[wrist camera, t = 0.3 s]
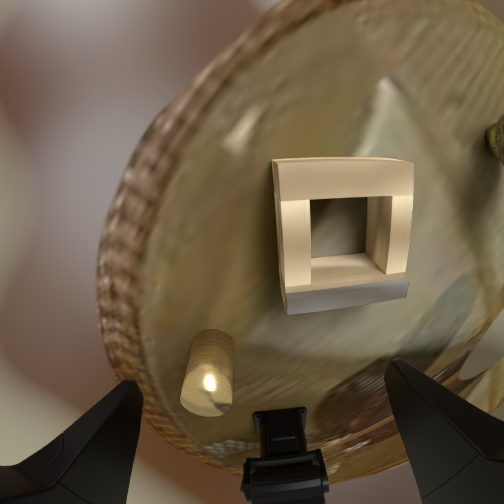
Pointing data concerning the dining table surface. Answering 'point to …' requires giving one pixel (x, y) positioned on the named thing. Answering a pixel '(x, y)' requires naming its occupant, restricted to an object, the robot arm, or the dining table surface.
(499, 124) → the cup
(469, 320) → the dining table surface
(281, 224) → the jig
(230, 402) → the gold metal cylinder
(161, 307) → the dining table surface
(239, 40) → the dining table surface
